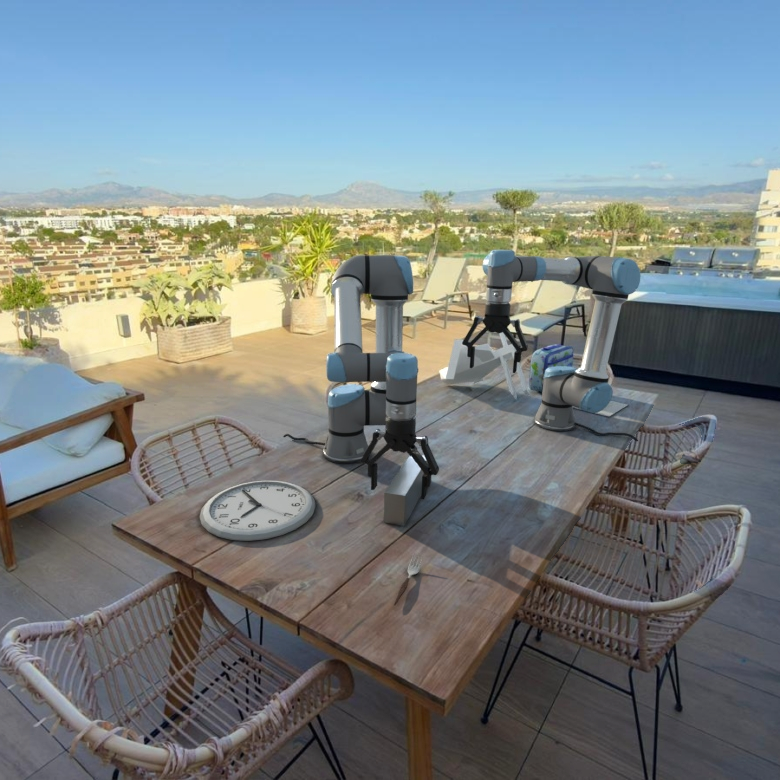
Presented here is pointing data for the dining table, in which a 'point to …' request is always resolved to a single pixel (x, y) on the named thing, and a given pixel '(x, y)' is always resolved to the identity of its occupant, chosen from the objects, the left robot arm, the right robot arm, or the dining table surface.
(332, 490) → the dining table surface
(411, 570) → the fork
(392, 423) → the left robot arm
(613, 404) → the invitation card
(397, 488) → the bar
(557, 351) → the lunch box
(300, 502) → the wall clock
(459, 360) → the white plastic object
